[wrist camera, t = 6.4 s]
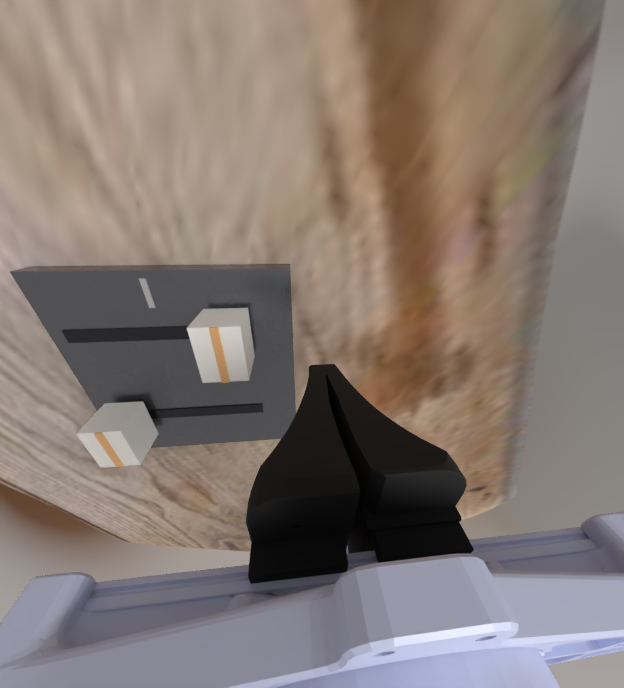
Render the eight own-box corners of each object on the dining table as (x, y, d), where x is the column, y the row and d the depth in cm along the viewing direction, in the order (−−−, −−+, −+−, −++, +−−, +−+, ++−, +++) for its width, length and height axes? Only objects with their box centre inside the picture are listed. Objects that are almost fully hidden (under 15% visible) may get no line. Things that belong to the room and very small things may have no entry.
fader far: (158, 433, 21) (140, 465, 19) (123, 435, 21) (99, 468, 18) (143, 401, 19) (119, 432, 17) (104, 403, 19) (74, 435, 16)
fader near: (254, 356, 18) (248, 381, 15) (215, 357, 18) (202, 383, 15) (248, 307, 16) (239, 327, 13) (203, 308, 16) (185, 329, 13)
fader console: (295, 425, 25) (296, 438, 24) (131, 436, 24) (121, 450, 22) (289, 264, 17) (290, 268, 15) (33, 266, 15) (8, 271, 14)
